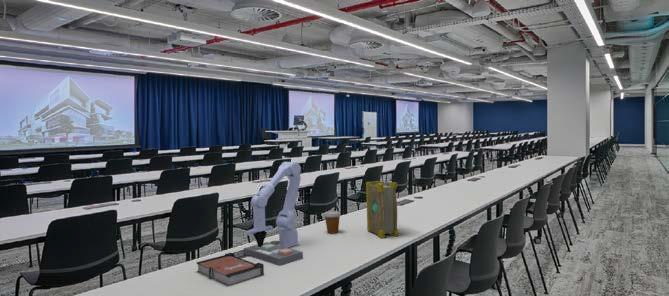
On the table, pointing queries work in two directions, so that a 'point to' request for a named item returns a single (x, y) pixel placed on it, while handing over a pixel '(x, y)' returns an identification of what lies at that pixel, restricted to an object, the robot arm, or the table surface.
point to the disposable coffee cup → (332, 221)
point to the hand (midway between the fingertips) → (260, 246)
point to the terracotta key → (285, 252)
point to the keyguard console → (273, 254)
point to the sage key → (268, 247)
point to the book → (230, 269)
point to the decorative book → (381, 208)
